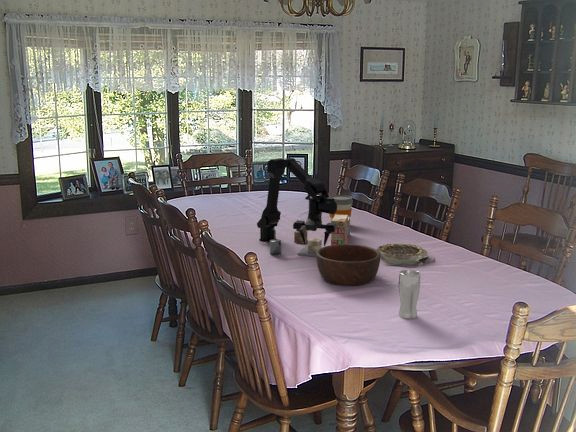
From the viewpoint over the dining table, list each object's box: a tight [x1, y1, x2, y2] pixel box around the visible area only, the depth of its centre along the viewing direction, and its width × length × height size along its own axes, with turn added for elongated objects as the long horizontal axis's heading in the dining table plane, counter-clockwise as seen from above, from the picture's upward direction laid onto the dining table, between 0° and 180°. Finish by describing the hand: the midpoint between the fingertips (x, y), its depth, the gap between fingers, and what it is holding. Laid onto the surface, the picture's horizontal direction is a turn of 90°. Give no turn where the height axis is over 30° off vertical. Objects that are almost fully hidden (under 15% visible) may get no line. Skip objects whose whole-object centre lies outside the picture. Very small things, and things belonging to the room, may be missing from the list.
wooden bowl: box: [315, 243, 382, 287], centre depth 244 cm, size 25×25×10 cm
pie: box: [376, 243, 436, 268], centre depth 270 cm, size 28×27×5 cm
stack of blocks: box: [330, 214, 351, 245], centre depth 296 cm, size 21×6×12 cm, turn 167°
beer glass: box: [398, 269, 421, 320], centre depth 205 cm, size 7×7×15 cm
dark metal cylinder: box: [269, 238, 282, 256], centre depth 275 cm, size 5×5×6 cm
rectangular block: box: [293, 230, 308, 244], centre depth 295 cm, size 5×5×5 cm
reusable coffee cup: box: [328, 194, 353, 222], centre depth 323 cm, size 13×13×15 cm
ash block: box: [307, 237, 323, 252], centre depth 277 cm, size 5×5×5 cm
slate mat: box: [297, 245, 322, 258], centre depth 278 cm, size 12×12×1 cm
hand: (314, 244), depth 277 cm, fingers open, 9 cm apart
